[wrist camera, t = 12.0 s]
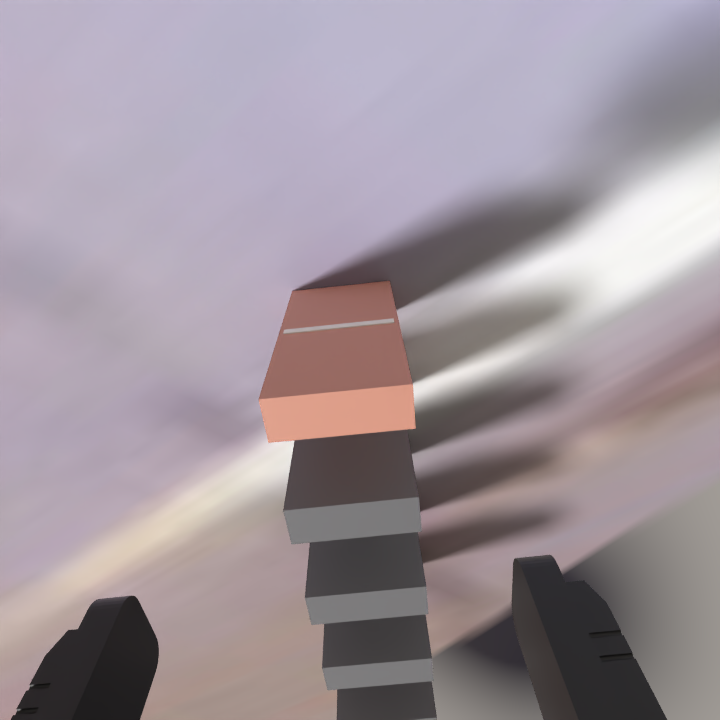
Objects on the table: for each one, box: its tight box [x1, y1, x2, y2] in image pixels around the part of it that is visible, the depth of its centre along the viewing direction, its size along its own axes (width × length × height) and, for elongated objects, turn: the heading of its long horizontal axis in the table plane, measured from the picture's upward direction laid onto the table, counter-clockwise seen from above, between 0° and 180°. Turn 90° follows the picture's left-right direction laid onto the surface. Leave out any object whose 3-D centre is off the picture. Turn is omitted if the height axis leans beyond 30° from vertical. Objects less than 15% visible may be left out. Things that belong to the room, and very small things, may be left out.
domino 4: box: [322, 614, 434, 690], centre depth 29 cm, size 2×5×11 cm, turn 97°
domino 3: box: [305, 532, 428, 625], centre depth 27 cm, size 2×5×11 cm, turn 97°
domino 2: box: [283, 429, 422, 544], centre depth 24 cm, size 2×5×11 cm, turn 97°
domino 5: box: [337, 681, 437, 720], centre depth 31 cm, size 2×5×11 cm, turn 96°
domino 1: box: [259, 281, 416, 443], centre depth 22 cm, size 2×5×11 cm, turn 96°
